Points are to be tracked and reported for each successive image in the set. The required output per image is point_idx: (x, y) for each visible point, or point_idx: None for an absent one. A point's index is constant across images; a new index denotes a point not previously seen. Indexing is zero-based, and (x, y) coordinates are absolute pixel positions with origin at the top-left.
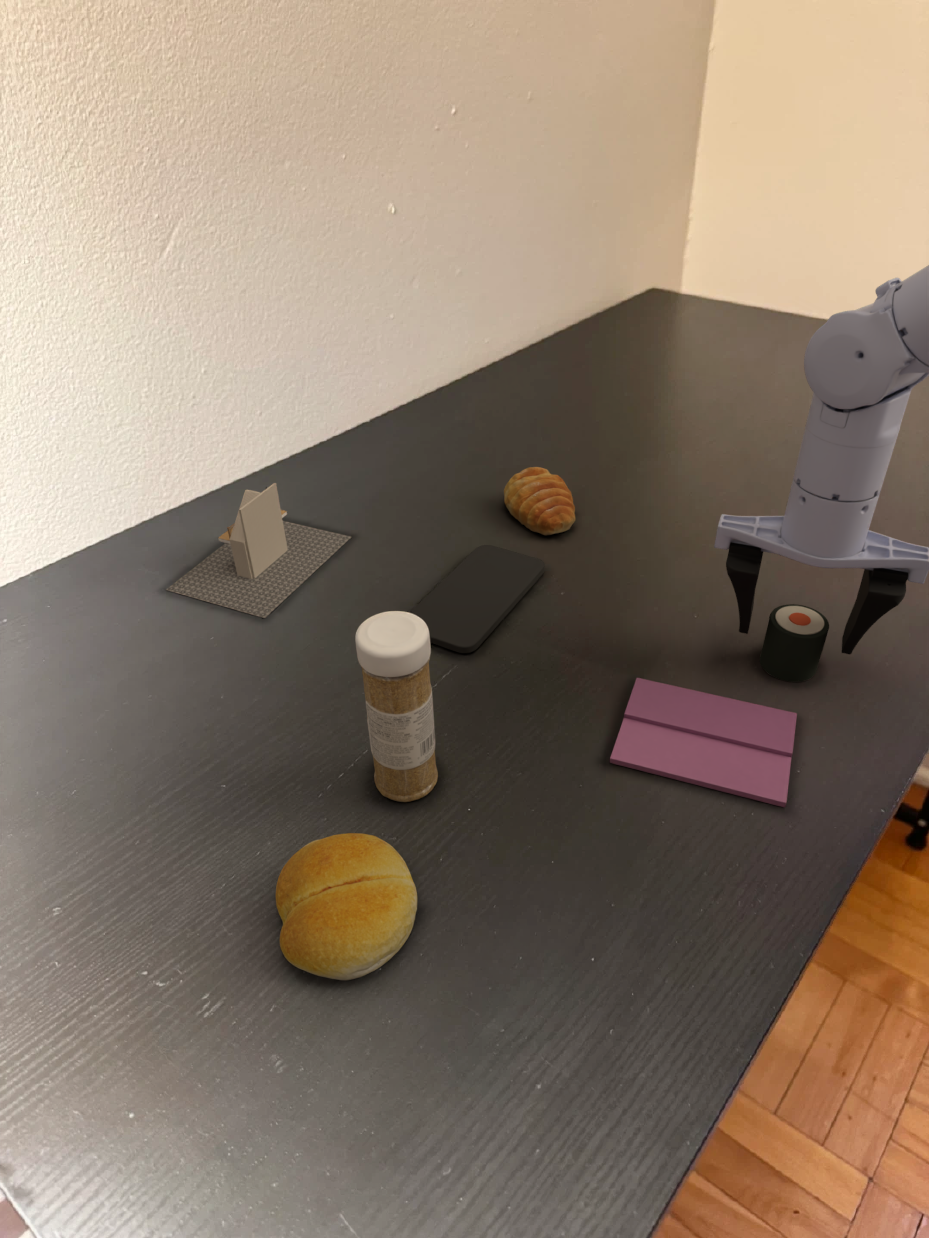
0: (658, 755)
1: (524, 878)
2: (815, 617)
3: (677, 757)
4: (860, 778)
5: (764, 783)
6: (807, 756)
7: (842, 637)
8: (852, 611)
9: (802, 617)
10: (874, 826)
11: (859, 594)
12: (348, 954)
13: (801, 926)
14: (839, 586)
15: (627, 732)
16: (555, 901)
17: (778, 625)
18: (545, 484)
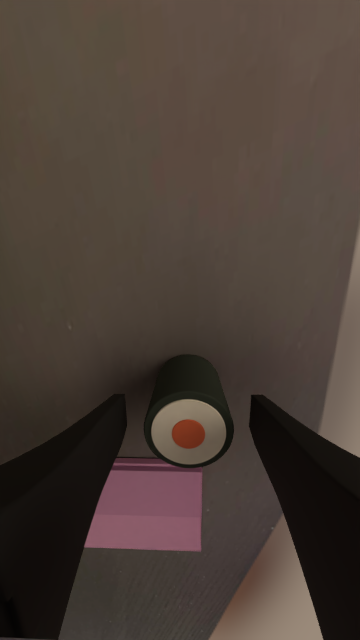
0: (97, 536)
1: None
2: (212, 423)
3: (112, 534)
4: (258, 504)
5: (182, 540)
6: (214, 494)
7: (251, 396)
8: (274, 428)
9: (192, 430)
10: (265, 541)
11: (300, 480)
12: None
13: (216, 610)
14: (249, 172)
15: None
16: (79, 626)
17: (159, 452)
18: None
